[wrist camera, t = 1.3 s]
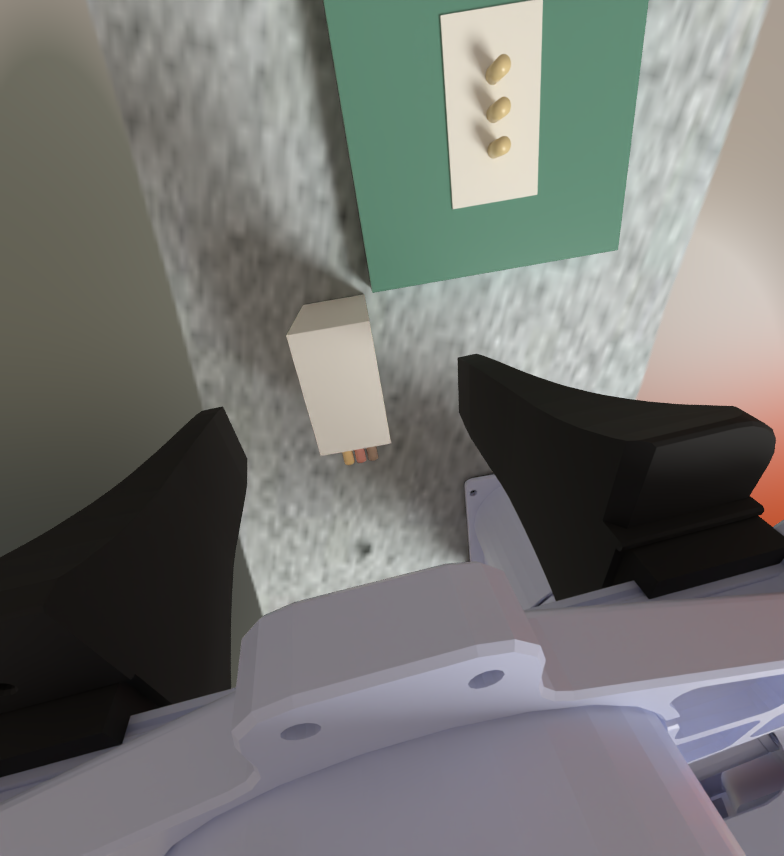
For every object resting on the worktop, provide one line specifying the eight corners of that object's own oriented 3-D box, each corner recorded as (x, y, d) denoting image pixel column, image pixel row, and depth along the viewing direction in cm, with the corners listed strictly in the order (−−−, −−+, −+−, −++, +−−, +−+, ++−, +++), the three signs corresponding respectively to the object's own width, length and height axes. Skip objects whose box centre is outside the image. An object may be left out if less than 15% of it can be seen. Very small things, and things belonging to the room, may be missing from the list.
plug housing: (385, 414, 23) (396, 471, 18) (333, 423, 23) (328, 483, 18) (364, 294, 20) (369, 320, 15) (303, 304, 20) (286, 335, 15)
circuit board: (600, 247, 20) (633, 251, 18) (371, 287, 20) (374, 297, 17) (656, -303, 12) (730, -429, 10) (281, -244, 12) (264, -357, 10)
